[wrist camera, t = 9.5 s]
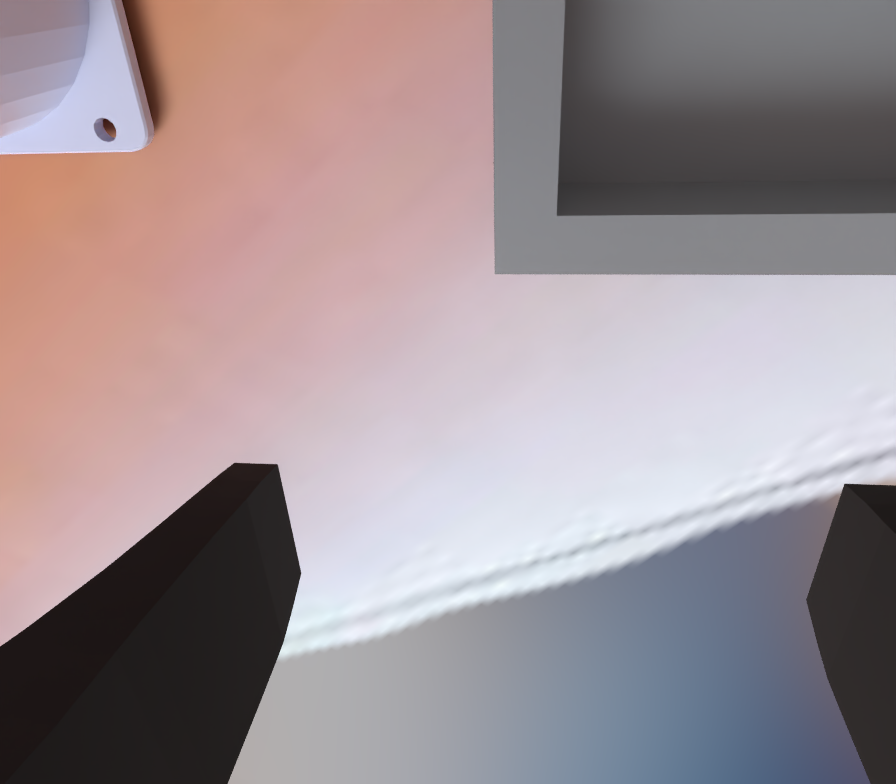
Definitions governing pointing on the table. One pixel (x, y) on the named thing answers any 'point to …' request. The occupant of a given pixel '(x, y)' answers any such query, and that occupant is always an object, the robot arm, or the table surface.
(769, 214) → the tray
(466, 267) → the table surface
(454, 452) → the table surface
